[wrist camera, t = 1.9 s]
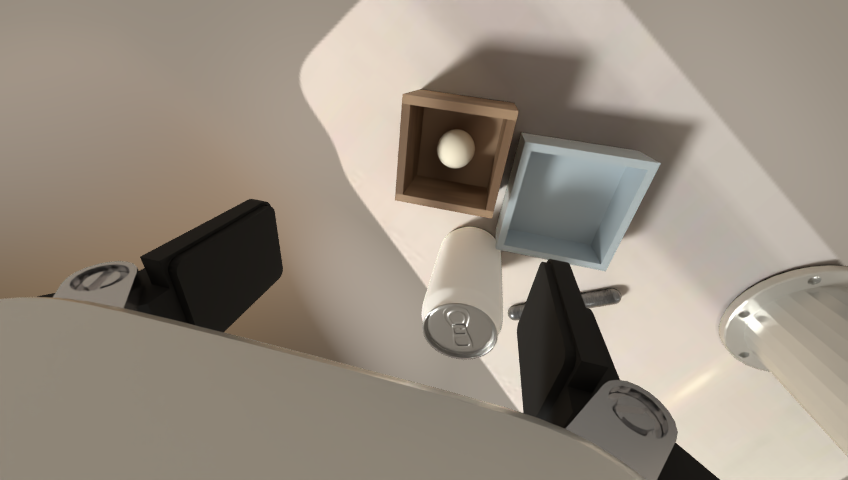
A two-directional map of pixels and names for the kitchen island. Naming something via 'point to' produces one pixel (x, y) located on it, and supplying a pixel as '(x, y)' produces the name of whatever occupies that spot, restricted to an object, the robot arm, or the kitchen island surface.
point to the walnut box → (419, 159)
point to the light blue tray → (571, 199)
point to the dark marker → (589, 300)
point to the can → (464, 295)
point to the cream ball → (455, 148)
